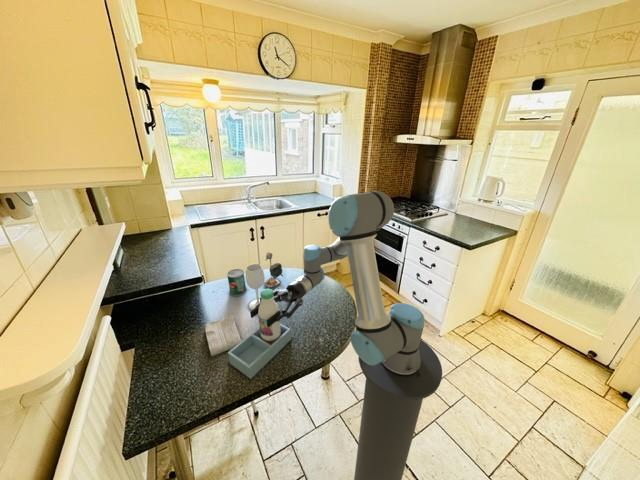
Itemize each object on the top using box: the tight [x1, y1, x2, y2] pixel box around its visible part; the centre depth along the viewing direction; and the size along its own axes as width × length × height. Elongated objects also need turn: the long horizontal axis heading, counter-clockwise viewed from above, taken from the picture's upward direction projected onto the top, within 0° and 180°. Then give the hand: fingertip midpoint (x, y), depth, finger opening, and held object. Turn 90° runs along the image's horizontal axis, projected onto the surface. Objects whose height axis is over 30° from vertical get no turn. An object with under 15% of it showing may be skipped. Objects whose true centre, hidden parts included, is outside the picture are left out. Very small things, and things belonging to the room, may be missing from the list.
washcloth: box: [204, 315, 242, 357], centre depth 103 cm, size 12×18×3 cm, turn 30°
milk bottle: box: [257, 288, 281, 341], centre depth 96 cm, size 8×8×20 cm
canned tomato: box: [226, 268, 247, 297], centre depth 130 cm, size 8×8×11 cm
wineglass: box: [245, 263, 266, 311], centre depth 117 cm, size 9×9×21 cm
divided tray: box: [227, 323, 292, 380], centre depth 96 cm, size 11×21×5 cm, turn 146°
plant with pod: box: [264, 252, 284, 288], centre depth 135 cm, size 8×11×20 cm
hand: (259, 319), depth 92 cm, fingers closed on milk bottle, 8 cm apart
